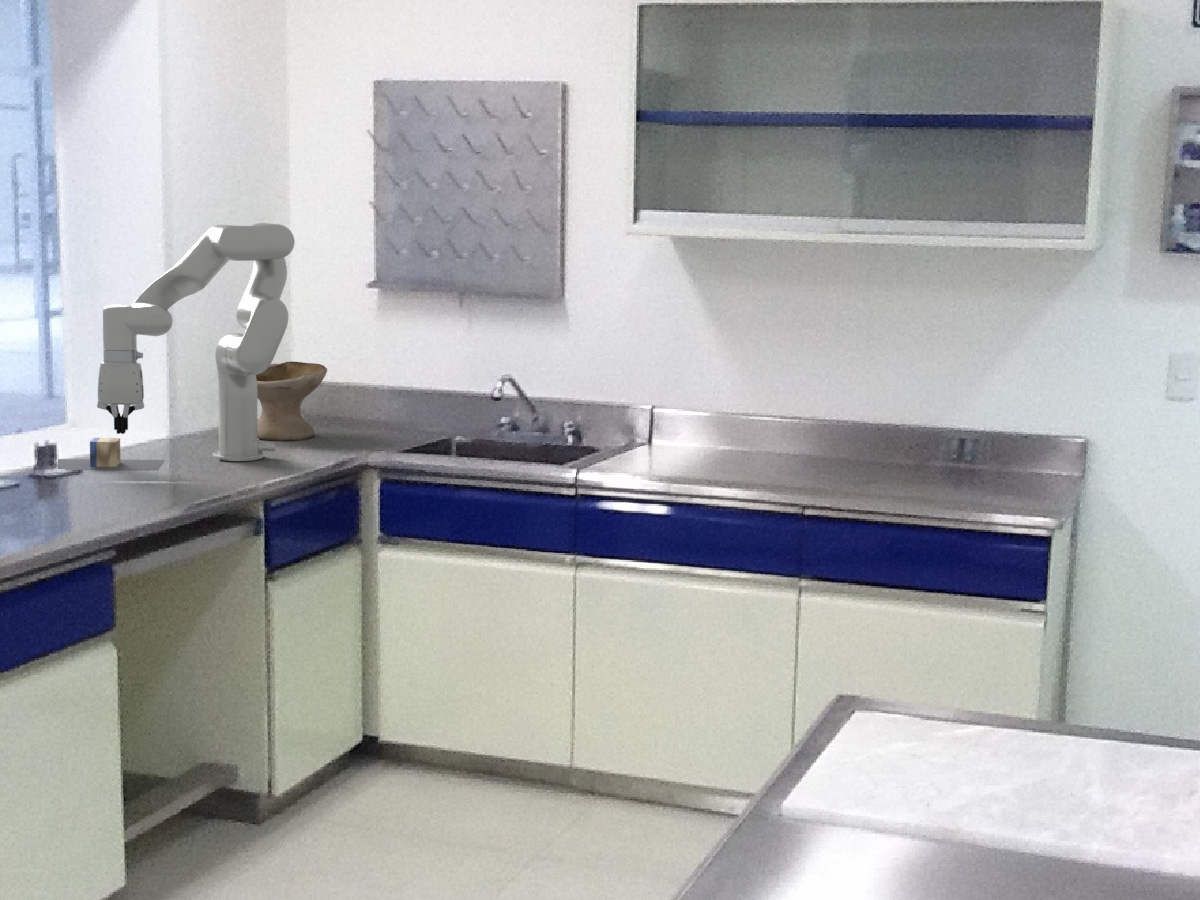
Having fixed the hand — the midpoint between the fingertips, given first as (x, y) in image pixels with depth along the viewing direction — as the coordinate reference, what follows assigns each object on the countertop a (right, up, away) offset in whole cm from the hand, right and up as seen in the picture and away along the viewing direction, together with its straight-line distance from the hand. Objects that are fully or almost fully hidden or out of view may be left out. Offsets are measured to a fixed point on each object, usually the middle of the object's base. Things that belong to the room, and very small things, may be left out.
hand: (121, 432), depth 333 cm
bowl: (+25, 0, +56) cm, 62 cm away
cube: (-1, -5, +1) cm, 5 cm away
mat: (-4, -8, +1) cm, 9 cm away
